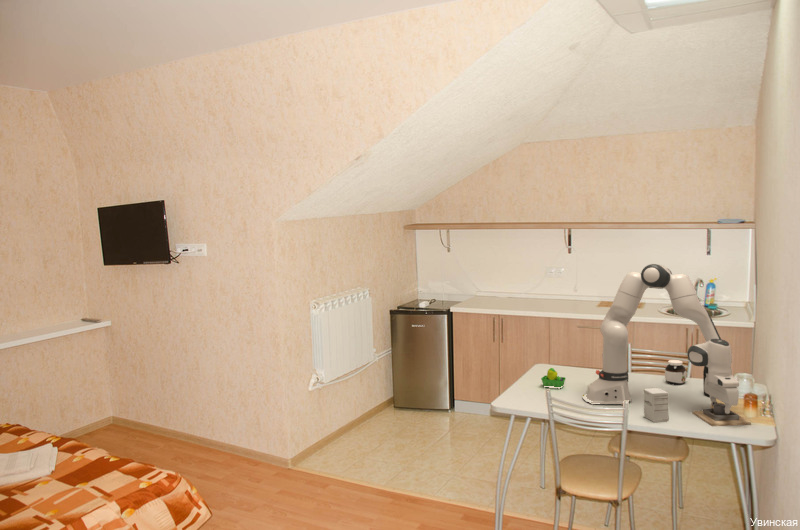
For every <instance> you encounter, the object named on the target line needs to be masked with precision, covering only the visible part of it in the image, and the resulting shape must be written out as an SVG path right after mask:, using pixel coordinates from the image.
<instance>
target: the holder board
mask: <svg viewBox="0 0 800 530" xmlns="http://www.w3.org/2000/svg"><path fill="white" fill-rule="evenodd" d="M692 415H694V416H695V417H697V418H699V420H702V422H705V423H706V424H708V425H709V426H712V427H723V426H725V427H726V426H746V425H748V426H749V425H750V426H751V425H752V422H751V421H749V420H748V419H746V418H744V417H742V416H740V414H738V413H736V412H734V411H733V410H731V409H730V413H729V414H728V415H719V416H716V415H714V407H712V408H702V410H693V411H692Z"/></svg>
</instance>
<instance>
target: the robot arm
mask: <svg viewBox="0 0 800 530" xmlns="http://www.w3.org/2000/svg"><path fill="white" fill-rule="evenodd" d="M647 289H658V290H660V289H661V290H663V289H664V290H666V291H667V294H668V296H669V299H670V303H671V306H672V309H673V311H674V312H675V314H676V315H678V316H679V317H682V318H684V319H687V320H689V321H690V320H691V321H692V322H694V323H695V324H696V325H697V326H698V327H699V329H700V332H701V333H702V336H703V338H704V341H705V342H703V343H698V344H697V343H696V344H694V345H691V346H690V347H689V348H688V349H687V353H686V354H687V355H686V356H687V358H688V359H687V360H688V361H689V363H691V364H692V365H693V366H695V367H704V366H706V367H708V374H707V375H706V378H705V382H704V384H703V392H704V391H705V393H707V394H709V395H710V397H709V398H710V402H711V406H712V407H713V404H715V403H718V402H717V400H718V401H720V402H721V403H722V404H725V408H724V413H726V414H729V413H730V410H731V409H732V407H733V406H738V404H739V399H740V398H739V397H740V396H739V394H740V393H739V388H738V387H739V386H740V382H739V381H738V380H737V379H736V378H735V376H734V375H733V369H732V363H733V354H732V353H733V352H732V347H731V344H730V343H729V342H728V341H727V340H724V339H722V338H721V337H720V333H719V332H718V329H717V327H716V325H715V323H714V321H713V319H712V317H711V315H710V313H709V311H708V310H707V309H706V308H705V307H704V306H703V305H702V303H701V302H700V300H699V297H698V294H697V291H696V288H695V287H694V283H693V281H692V280H691V278H690V277H689V276H688V275H687V274H685V273H676V274H673V273H672V271H671V270H670V269H669V268H668V267H666V266H665V265H662V264H656V263H651V264H647V265H646V266H644V267H643V269H642V270H641V272H637V271H630V272H627V274H626V275H625V276H624V278H623V280H622V281H621V283H620V285H619V286H618V290H617V292H616V294H615V296H614V299H613V301H612V304H611V305H610V307H609V309H608V311H607V313H606V315H605V316H604V318H603V320H602V322H601V324H600V326H599V328H600V333H601V335H602V341H603V342H602V344H603V345H602V346H603V347H602V354H601V355H602V370H598V369H596V370H595V374H596V375H598V377H597V379H595V380H594V381H593V382H591V383H589V384H588V386H587V389H586V394H587V395H586V397H587V399H589V400H591V401H593V402H591V403H600V404H623V401H624V400H629V401H630V402H632V398H631V394H630V390H629V384H628V383H629V371H628V356H627V354H628V346H629V345H628V344H629V331H628V328H627V327H628V325H629V323H630V322H631V320H632V318H633V317H634V315H635V314H636V313H637V310H638V307H639V306H640V302H641V300H642V297H643V296H644V293H645V292H646V290H647Z"/></svg>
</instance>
